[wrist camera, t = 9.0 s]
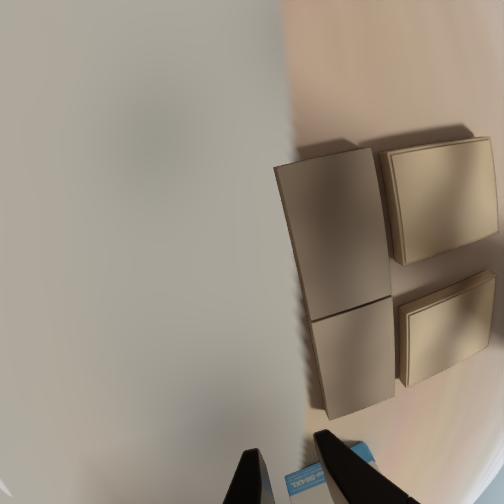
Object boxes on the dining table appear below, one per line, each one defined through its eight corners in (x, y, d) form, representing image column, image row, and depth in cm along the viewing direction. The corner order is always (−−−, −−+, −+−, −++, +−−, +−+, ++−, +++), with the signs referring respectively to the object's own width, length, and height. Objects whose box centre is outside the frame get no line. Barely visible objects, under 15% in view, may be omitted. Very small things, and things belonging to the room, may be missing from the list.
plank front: (479, 136, 18) (491, 136, 16) (488, 229, 20) (499, 233, 18) (378, 152, 18) (388, 152, 16) (394, 260, 20) (404, 266, 18)
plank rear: (486, 269, 21) (496, 275, 20) (480, 340, 23) (488, 346, 22) (398, 306, 21) (407, 314, 19) (399, 379, 23) (406, 388, 21)
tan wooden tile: (362, 148, 18) (370, 147, 16) (388, 387, 23) (394, 396, 22) (273, 167, 18) (276, 167, 16) (325, 410, 23) (329, 420, 22)
